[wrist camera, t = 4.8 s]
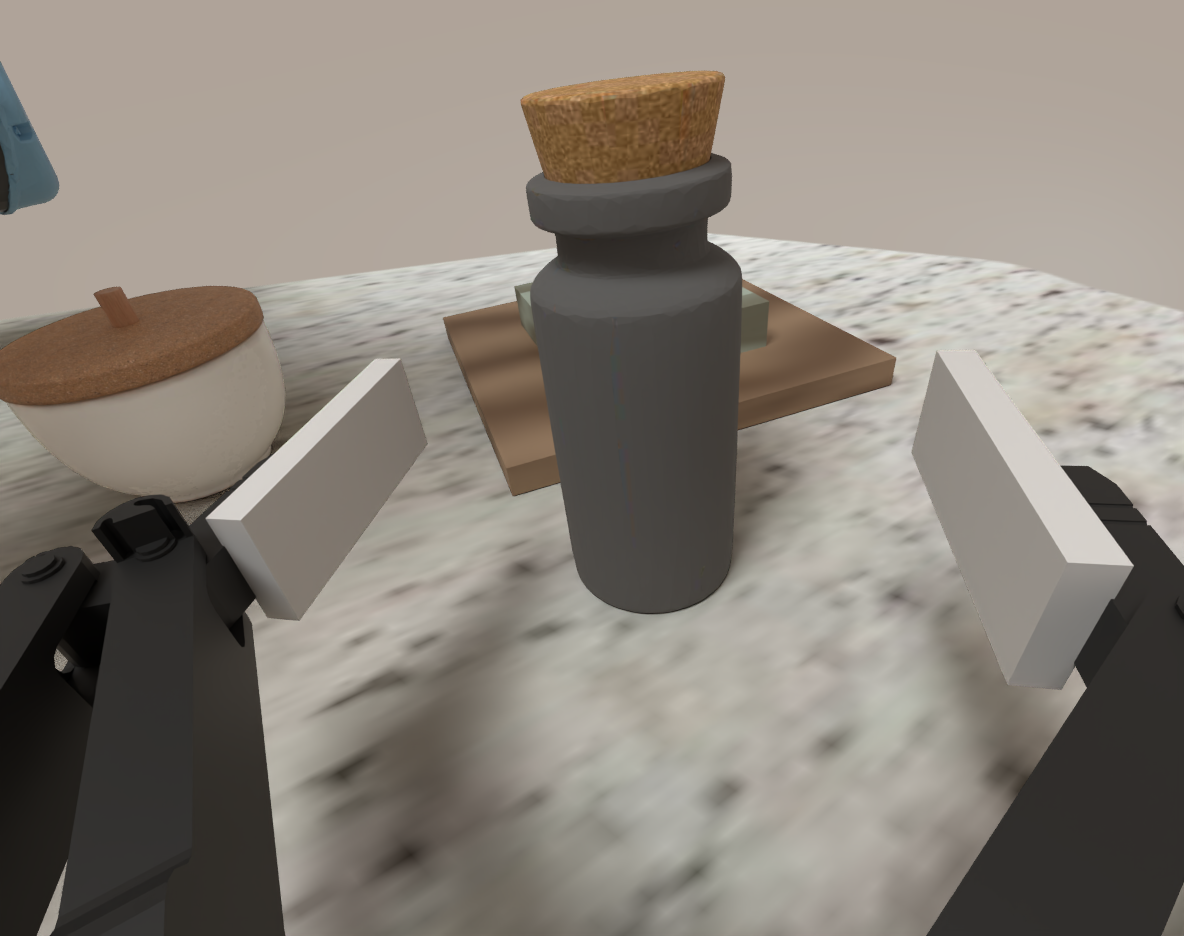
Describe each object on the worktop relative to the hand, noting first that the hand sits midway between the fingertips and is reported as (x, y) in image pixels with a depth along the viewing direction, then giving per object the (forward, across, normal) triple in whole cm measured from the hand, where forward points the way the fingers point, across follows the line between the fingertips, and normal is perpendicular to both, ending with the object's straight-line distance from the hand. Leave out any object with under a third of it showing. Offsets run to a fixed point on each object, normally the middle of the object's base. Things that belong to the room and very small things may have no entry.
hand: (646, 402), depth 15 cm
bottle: (+3, -1, -8) cm, 9 cm away
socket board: (+20, -3, -8) cm, 22 cm away
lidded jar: (+8, -24, -8) cm, 27 cm away
